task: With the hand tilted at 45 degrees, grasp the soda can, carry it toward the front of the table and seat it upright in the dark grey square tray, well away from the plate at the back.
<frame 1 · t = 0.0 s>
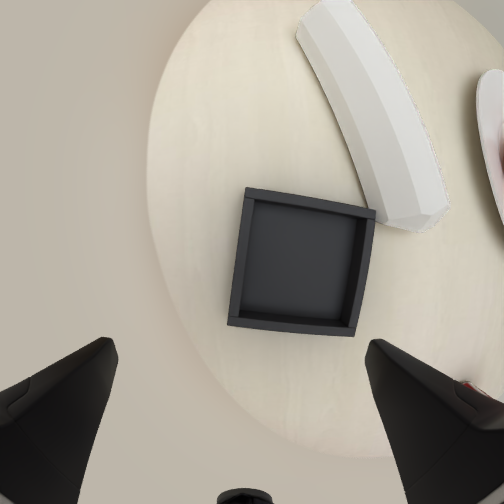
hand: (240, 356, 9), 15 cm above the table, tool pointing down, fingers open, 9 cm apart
dark grey square tray: (299, 263, 23), on the table
crystal: (365, 113, 23), on the table
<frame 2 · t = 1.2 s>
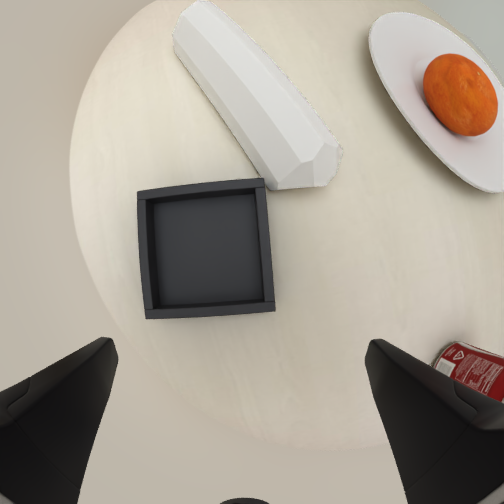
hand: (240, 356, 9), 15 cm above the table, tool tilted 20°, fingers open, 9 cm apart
dark grey square tray: (206, 250, 24), on the table
crystal: (248, 96, 25), on the table
plate: (449, 99, 26), on the table
soda can: (447, 366, 25), on the table
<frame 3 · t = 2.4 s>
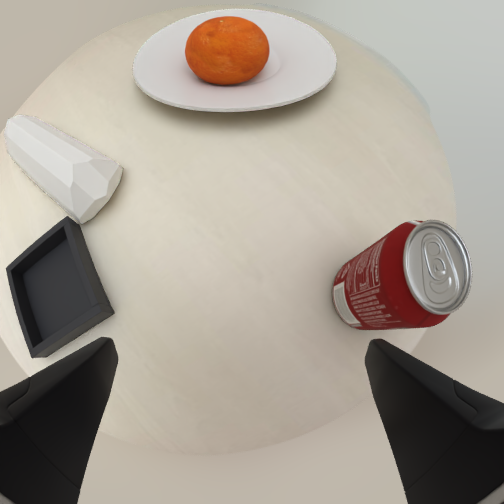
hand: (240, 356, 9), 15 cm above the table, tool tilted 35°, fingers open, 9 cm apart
dark grey square tray: (58, 291, 23), on the table
crystal: (61, 167, 28), on the table
plate: (234, 62, 33), on the table
soda can: (362, 294, 25), on the table
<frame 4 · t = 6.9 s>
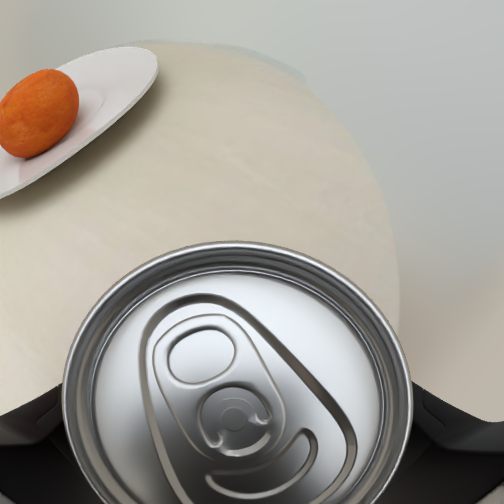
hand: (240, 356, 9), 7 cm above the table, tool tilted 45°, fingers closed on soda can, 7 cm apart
plate: (58, 123, 25), on the table
soda can: (241, 389, 14), on the table, touching gripper
when the fingers open (7 cm above the table, at t = 14.4 s): soda can stays where it is, resting on dark grey square tray.
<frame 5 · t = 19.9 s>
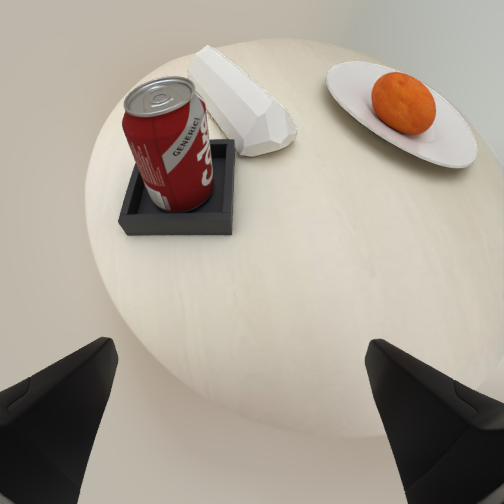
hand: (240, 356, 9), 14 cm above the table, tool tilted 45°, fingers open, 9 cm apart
dark grey square tray: (183, 191, 28), on the table
crystal: (234, 110, 35), on the table
plate: (401, 118, 37), on the table
soda can: (182, 191, 28), resting on dark grey square tray
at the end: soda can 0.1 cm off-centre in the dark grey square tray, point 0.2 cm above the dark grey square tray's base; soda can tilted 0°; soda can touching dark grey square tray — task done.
